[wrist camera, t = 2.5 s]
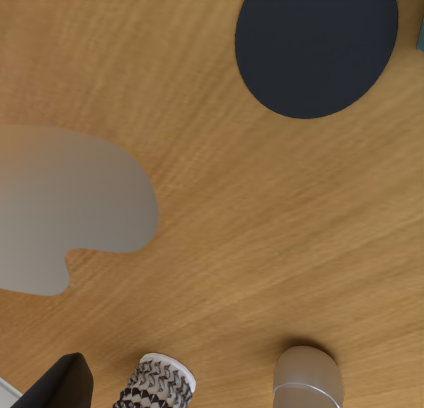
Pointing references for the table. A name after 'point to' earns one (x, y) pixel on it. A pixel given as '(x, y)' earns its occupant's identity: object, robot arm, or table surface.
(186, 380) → the white patterned cylinder
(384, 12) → the coaster
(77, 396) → the robot arm
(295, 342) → the table surface
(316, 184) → the table surface
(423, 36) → the blue open rectangular frame
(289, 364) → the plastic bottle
